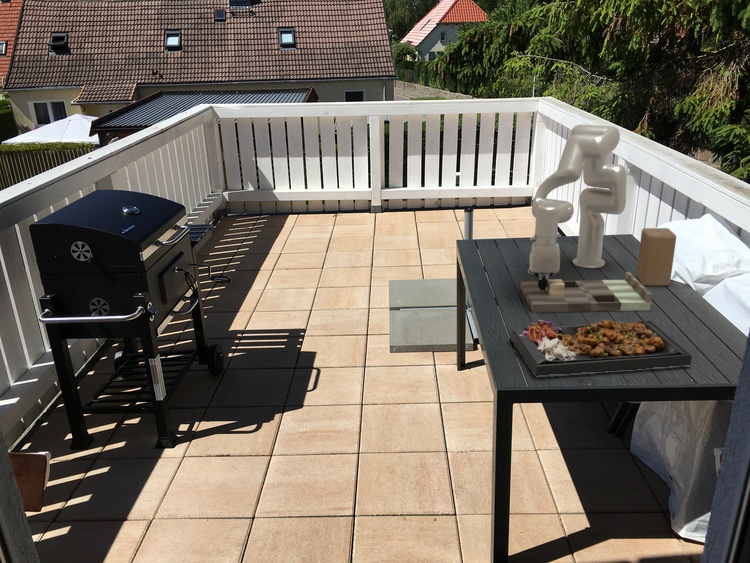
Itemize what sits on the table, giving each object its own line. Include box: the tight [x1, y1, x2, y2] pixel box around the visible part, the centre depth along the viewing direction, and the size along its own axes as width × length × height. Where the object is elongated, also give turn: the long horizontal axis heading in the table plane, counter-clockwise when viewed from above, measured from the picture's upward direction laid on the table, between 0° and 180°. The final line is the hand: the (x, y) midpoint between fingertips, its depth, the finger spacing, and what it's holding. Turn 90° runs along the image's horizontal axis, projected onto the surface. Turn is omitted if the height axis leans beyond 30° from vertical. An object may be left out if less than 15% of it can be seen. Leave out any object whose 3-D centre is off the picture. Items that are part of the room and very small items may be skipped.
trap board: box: [520, 271, 653, 314], centre depth 235 cm, size 22×40×6 cm, turn 89°
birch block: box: [547, 278, 565, 295], centre depth 234 cm, size 5×5×4 cm
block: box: [636, 227, 677, 287], centre depth 246 cm, size 10×10×20 cm
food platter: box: [510, 313, 693, 376], centre depth 195 cm, size 45×25×10 cm, turn 95°
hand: (542, 289), depth 234 cm, fingers closed
